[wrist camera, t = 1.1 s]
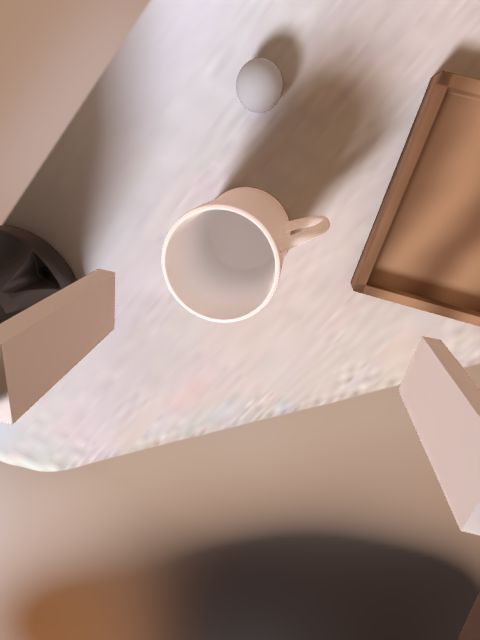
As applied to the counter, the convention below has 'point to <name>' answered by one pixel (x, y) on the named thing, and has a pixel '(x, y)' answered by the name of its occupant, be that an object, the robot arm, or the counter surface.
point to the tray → (432, 210)
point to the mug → (232, 253)
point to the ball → (259, 85)
